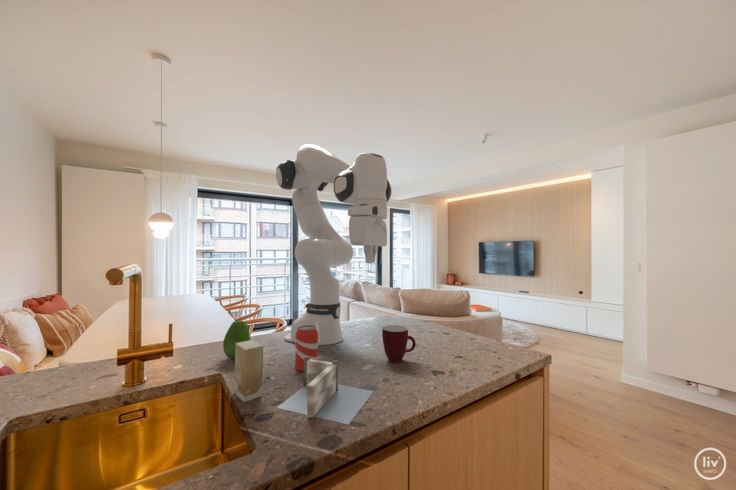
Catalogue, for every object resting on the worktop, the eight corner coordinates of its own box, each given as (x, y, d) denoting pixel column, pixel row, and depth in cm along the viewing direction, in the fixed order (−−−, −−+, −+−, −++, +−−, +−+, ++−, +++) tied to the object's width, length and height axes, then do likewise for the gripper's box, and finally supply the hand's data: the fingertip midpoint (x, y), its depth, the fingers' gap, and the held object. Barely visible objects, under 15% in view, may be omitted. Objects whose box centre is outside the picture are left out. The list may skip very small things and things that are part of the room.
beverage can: (318, 372, 85) (318, 329, 85) (294, 374, 83) (295, 330, 84) (317, 364, 91) (317, 324, 91) (295, 365, 89) (296, 325, 89)
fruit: (219, 357, 95) (220, 319, 95) (244, 352, 100) (245, 316, 101) (227, 365, 89) (227, 324, 89) (253, 359, 94) (254, 320, 95)
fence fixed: (302, 385, 76) (303, 357, 76) (305, 383, 77) (306, 355, 77) (336, 391, 72) (336, 362, 72) (338, 389, 74) (339, 360, 74)
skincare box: (233, 394, 71) (234, 342, 72) (251, 388, 74) (252, 339, 75) (244, 404, 67) (245, 349, 67) (263, 397, 70) (263, 345, 70)
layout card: (276, 409, 65) (276, 407, 65) (312, 381, 79) (312, 379, 79) (348, 426, 59) (348, 424, 59) (373, 392, 73) (373, 390, 73)
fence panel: (330, 390, 72) (331, 363, 72) (336, 391, 72) (336, 364, 72) (306, 416, 61) (307, 385, 61) (312, 417, 60) (313, 386, 61)
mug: (409, 354, 100) (410, 324, 100) (419, 363, 92) (419, 330, 92) (379, 356, 98) (379, 325, 98) (386, 366, 90) (386, 332, 90)
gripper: (372, 216, 93) (372, 261, 93) (344, 207, 74) (344, 264, 73) (392, 216, 91) (392, 261, 90) (368, 206, 71) (368, 264, 71)
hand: (370, 262), depth 82 cm, fingers closed
